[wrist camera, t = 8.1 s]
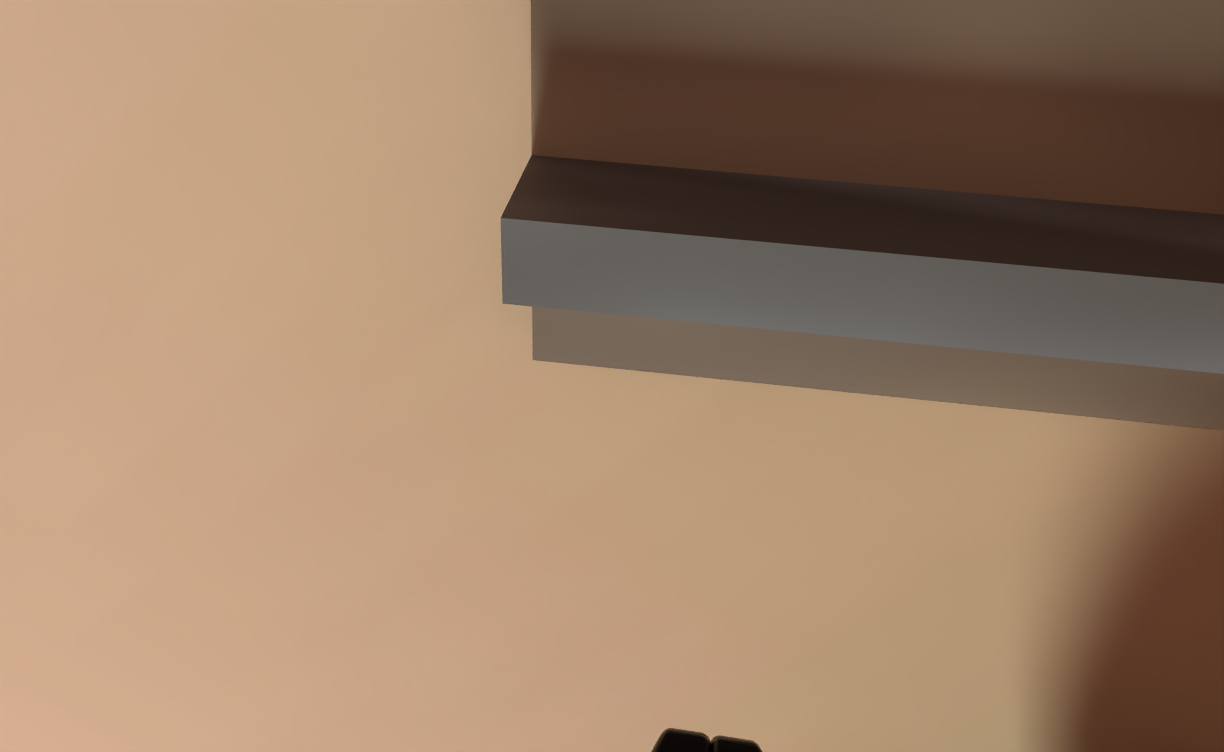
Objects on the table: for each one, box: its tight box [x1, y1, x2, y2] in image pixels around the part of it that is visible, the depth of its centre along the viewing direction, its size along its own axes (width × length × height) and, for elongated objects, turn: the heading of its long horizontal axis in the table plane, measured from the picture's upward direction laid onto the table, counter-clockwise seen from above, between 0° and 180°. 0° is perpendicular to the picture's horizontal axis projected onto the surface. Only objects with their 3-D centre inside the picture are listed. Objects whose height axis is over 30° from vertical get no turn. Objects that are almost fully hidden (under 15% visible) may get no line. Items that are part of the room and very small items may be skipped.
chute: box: [501, 0, 1224, 430], centre depth 15 cm, size 14×19×4 cm
